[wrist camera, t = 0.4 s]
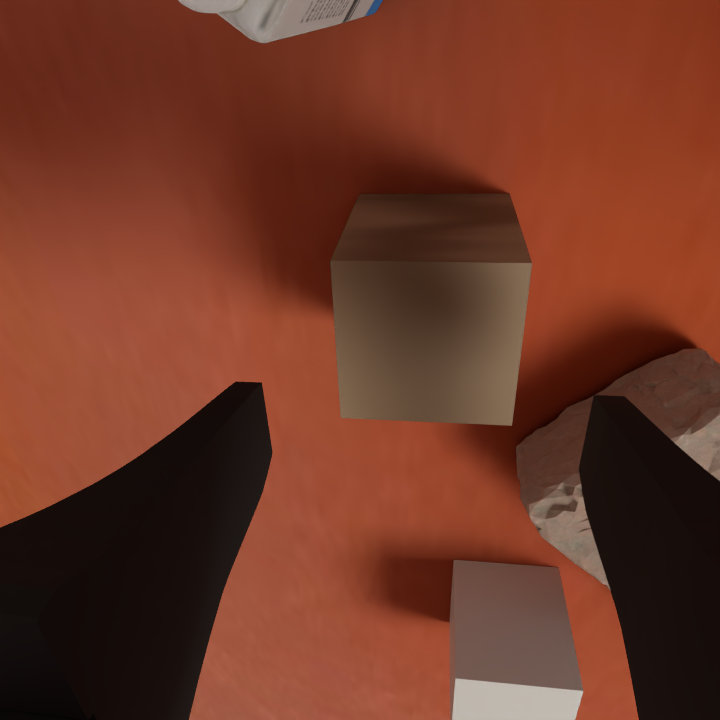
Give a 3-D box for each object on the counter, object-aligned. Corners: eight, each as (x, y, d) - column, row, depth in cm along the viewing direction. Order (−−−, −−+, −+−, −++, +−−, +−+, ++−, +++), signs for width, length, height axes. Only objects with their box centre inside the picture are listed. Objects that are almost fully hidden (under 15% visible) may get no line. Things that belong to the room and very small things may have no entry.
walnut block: (509, 193, 19) (532, 263, 14) (496, 326, 22) (512, 425, 17) (359, 193, 20) (330, 260, 15) (364, 323, 23) (340, 417, 18)
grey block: (558, 566, 28) (583, 691, 23) (545, 630, 31) (564, 754, 26) (453, 558, 29) (455, 678, 24) (449, 621, 32) (450, 741, 26)
